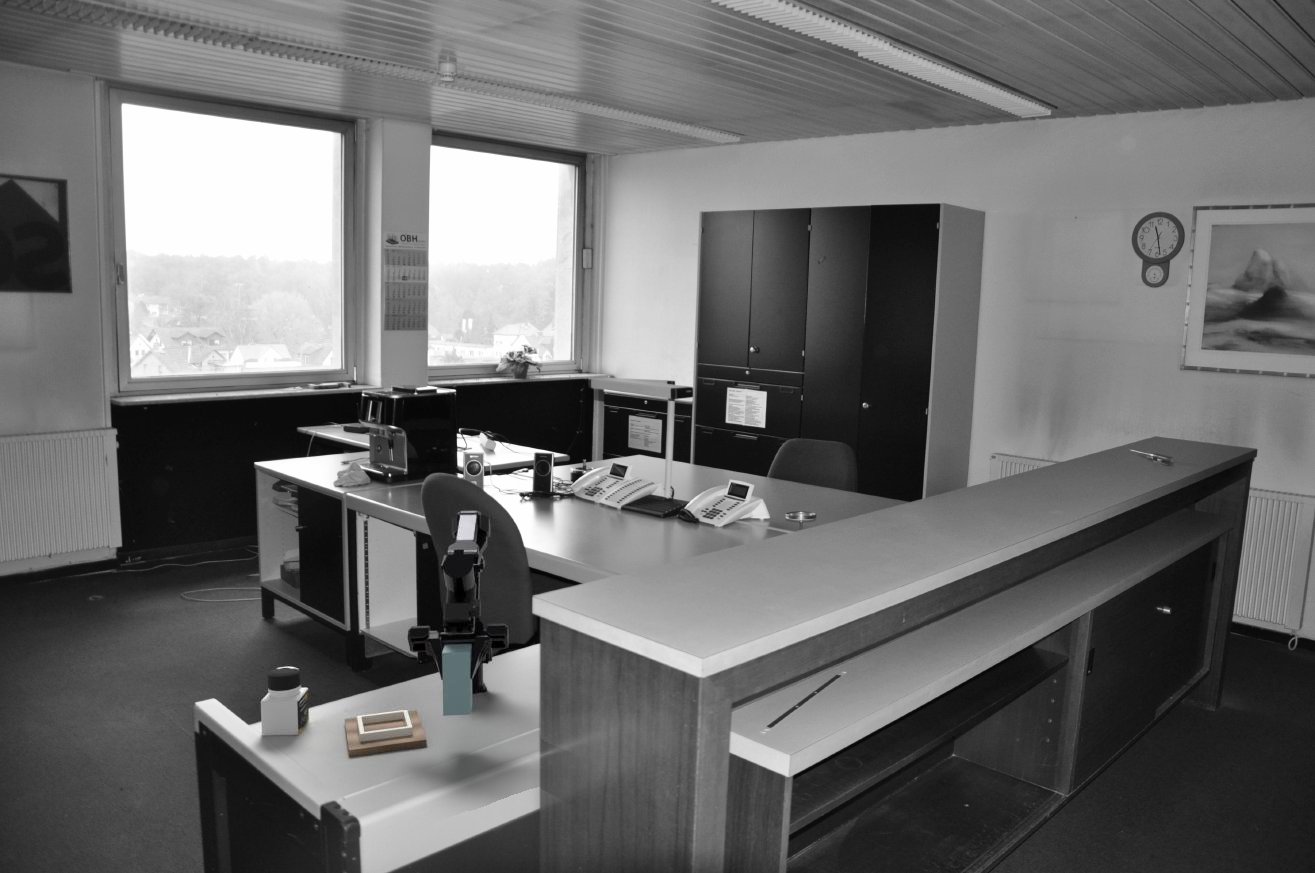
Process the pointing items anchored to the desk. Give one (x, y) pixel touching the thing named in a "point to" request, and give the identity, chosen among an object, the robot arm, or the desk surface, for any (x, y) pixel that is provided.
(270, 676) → the medicine bottle
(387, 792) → the desk surface
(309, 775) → the desk surface
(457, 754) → the desk surface
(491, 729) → the desk surface
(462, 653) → the pale blue tall block
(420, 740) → the wooden tray with frame
